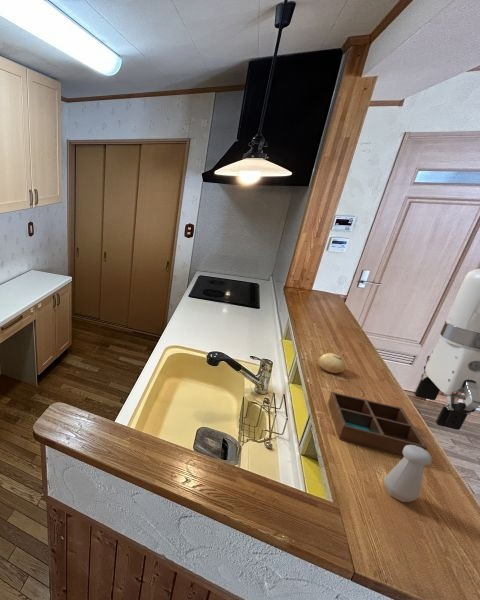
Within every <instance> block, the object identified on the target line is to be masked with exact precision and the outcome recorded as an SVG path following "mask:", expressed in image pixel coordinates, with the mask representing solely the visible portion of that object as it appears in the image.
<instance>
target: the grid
mask: <svg viewBox="0 0 480 600" xmlns="http://www.w3.org/2000/svg"><path fill="white" fill-rule="evenodd" d="M328 405H329V406H328ZM327 406H328V410H329V413H330V416H331V418H332V421H333V426H334V428H335V431H336V434H337V437H338V439H339V440H341V441H344V442H349V443H352V444H356V445H359V446H363V447H366V448H370V449H373V450H377V451H381V452H384V453H388V454H391V455H395V456H398V457H402V458H403V457H404V455H403V453H402V451H403V449H404V447H405V446H406V445H415V446H418V447H421V448H423V449H424V450H426V451H427V450H428V447H427V445H426V444H425V442H424V440H423V439H422V437H421V436H420V434H419V432H418V431H417V429H416V428H415V426H414V425H413V423H412V421H411V420H410V419H409V416H408V415H407V414H406V412H405V411H404V409H403V408H402V407H399V406H394V405H390V404H386V403H381V402H377V401H373V400H367V399H363V398H359V397H355V396H351V395H346V394H343V393H338V392H333V391H331V392H330V395H329V399H328V402H327Z"/></svg>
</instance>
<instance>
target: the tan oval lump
mask: <svg viewBox="0 0 480 600" xmlns="http://www.w3.org/2000/svg"><path fill="white" fill-rule="evenodd" d="M342 356H343V354H341V355H338V354H336V353H331V352H329V353H324V354H322V355H321V356H320V357H319V358H318V361H317V362H318V365H319V367H320V368H321V369H322V368H323V369H322V370H324V371H326V372H327V373H330V374H339V373H342V372H343V371H345V368H346V363H345V361H344V359H343V358H342Z"/></svg>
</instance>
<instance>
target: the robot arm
mask: <svg viewBox="0 0 480 600" xmlns="http://www.w3.org/2000/svg"><path fill="white" fill-rule="evenodd" d="M420 378H421V379H420V380H419V383H418V385H417V387H416V390H415V392H414V395H415V397H417V398H421V399H425V400H431V401H435V400H436V399H437V398H438V395H439V393H440V391H441V393H443V394H444V395H445V396H446V406H444V405H443V406H442V408H441V410H440V411H439V414H438V416H437V418H436V420H435V424H436V425H437V426H440V427H444V428H447V429H452V430H457V431H459V430H461V428H462V426H463V425H464V422H465V420H466V418H467V417H468V416H469V415H471V414H472V413H474V412H475V411H477V409H478V408H479V407H480V268H475V269H472V270H470V271H469V272H467V273H466V275H465V277H464V279H463V281H462V282H461V285H460V288H459V290H458V292H457V294H456V297H455V299H454V301H453V303H452V305H451V308H450V310H449V312H448V315H447V317H446V319H445V321H444V324H443V326H442V328H441V330H440V333H439V335H438V341H437V343H436V344H435V346H434V347H433V349H432V352H431V353H430V355H427V357H426V361H425V365H424V366H423V373H422V374H421V375H420ZM455 399H457V400H462V402H461V401H460V402H456V403H455Z"/></svg>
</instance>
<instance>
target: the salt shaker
mask: <svg viewBox="0 0 480 600" xmlns="http://www.w3.org/2000/svg"><path fill="white" fill-rule="evenodd" d="M402 453H403V455H404V457H402V459H401V460H399V462H397V463H396V465H395V466H394V467H393V468H392V469H391V470H390V471H389V472H388V473H387V474H386V476H385V477H384V478H383V482H384V488H385V490H386V491H387V493H388V494H389V496H390V497H391V498H394V499H396V500H397V501H399V502H401V503H410V502H413V501H416V500H418V499H419V497H420V495H421V488H422V481H423V476H424V475H423V474H424V469H425V467H426V466H429V465H430V464H431V462H432V455H431V454H430V452H429V451H427V450H424V449H423V448H421V447H418V446H415V445H406V446H405V447H404V449H403V451H402Z"/></svg>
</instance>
